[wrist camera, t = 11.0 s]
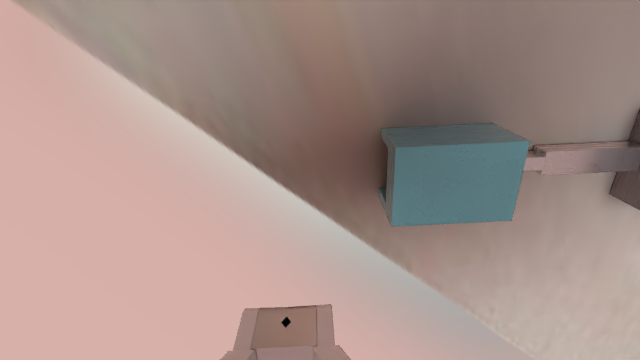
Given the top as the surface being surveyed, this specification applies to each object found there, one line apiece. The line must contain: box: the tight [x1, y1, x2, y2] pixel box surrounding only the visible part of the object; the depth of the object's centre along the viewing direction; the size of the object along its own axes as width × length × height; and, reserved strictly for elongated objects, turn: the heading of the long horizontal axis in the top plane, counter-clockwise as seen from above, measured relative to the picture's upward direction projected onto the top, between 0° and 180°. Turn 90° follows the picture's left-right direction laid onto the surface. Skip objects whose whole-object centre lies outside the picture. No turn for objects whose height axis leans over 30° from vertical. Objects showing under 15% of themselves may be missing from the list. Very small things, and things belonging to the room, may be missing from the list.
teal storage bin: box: [379, 123, 530, 226], centre depth 22 cm, size 8×6×4 cm
